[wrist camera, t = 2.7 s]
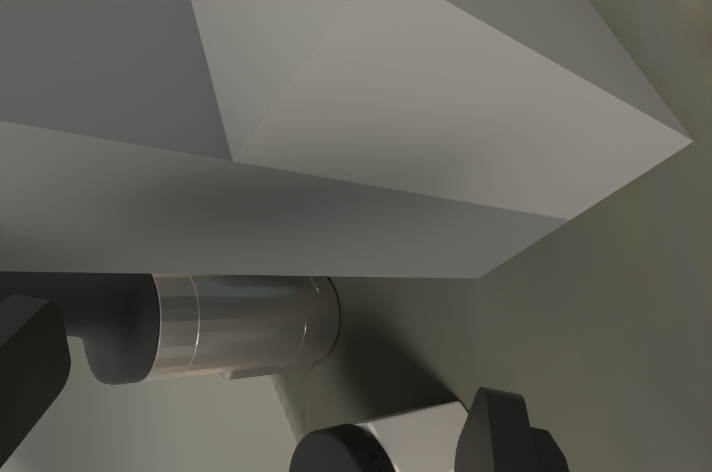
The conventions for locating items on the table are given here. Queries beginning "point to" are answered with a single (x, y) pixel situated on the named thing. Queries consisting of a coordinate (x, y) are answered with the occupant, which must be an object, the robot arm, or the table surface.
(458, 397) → the table surface
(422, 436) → the jar
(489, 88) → the stand
